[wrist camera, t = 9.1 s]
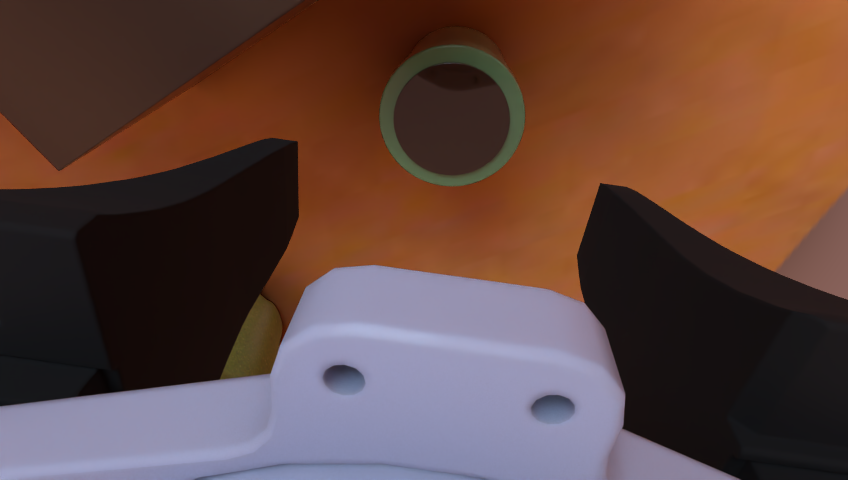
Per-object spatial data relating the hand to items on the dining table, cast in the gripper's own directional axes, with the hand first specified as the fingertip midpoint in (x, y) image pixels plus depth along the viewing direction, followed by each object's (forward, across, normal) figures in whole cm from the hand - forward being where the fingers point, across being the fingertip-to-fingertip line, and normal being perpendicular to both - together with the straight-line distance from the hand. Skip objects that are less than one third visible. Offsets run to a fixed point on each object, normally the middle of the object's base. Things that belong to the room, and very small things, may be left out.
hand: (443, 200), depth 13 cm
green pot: (+10, 0, 0) cm, 10 cm away
